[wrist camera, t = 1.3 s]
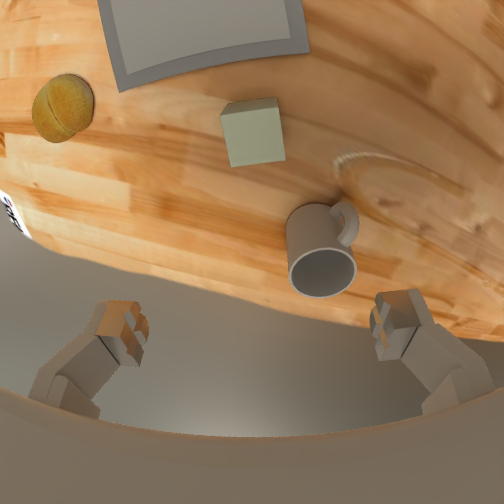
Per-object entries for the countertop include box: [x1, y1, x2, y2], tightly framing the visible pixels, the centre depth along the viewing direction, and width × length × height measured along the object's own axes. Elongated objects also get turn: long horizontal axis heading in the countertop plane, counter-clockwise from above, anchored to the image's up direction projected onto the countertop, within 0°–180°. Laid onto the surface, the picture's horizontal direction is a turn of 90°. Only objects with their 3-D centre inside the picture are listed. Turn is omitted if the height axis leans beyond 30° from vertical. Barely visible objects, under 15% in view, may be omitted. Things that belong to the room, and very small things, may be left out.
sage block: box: [220, 97, 286, 167], centre depth 27 cm, size 5×5×6 cm
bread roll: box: [32, 75, 93, 143], centre depth 26 cm, size 8×9×4 cm
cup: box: [286, 201, 359, 299], centre depth 33 cm, size 7×10×9 cm
